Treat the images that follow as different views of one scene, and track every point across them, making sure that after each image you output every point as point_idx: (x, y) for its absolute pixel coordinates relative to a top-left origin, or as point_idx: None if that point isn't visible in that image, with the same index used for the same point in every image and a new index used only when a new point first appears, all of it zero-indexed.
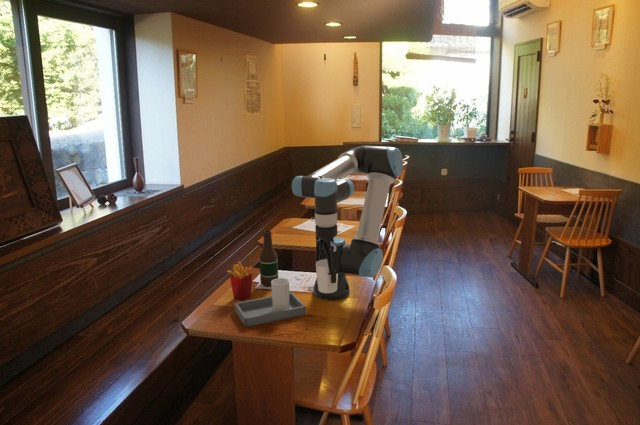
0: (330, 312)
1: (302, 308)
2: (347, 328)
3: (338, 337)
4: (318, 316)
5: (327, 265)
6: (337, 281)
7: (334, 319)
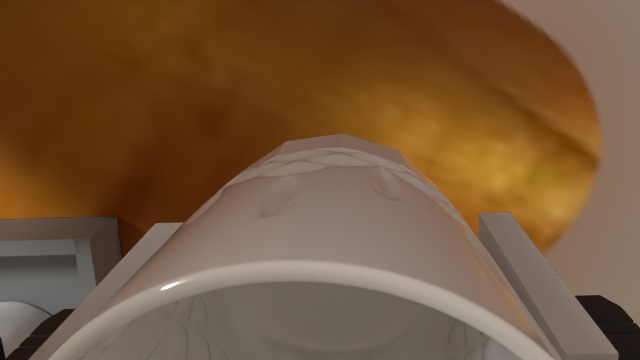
0: (128, 38)
1: (98, 261)
2: (418, 22)
3: (511, 136)
4: (163, 145)
5: (106, 350)
6: (425, 181)
7: (248, 55)
